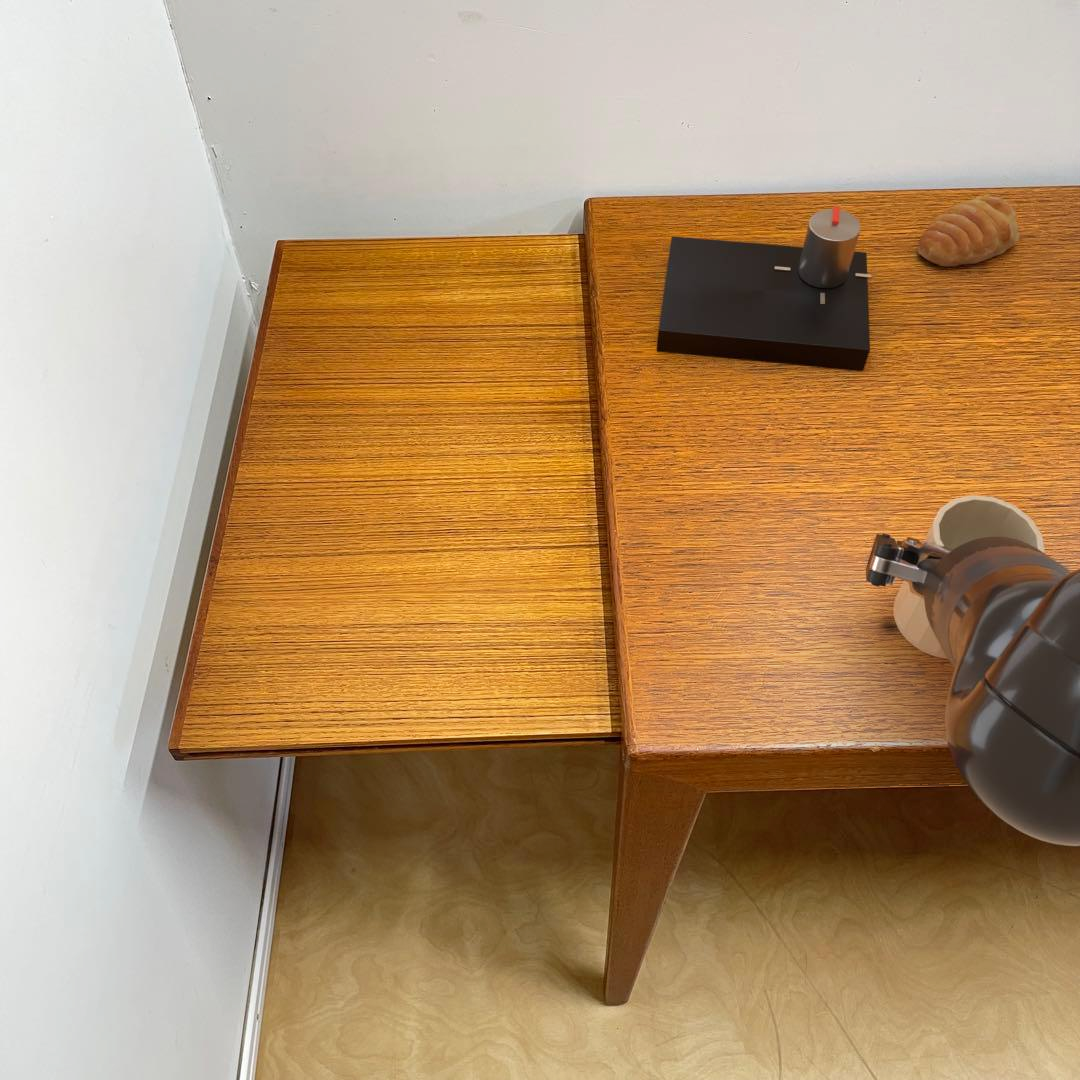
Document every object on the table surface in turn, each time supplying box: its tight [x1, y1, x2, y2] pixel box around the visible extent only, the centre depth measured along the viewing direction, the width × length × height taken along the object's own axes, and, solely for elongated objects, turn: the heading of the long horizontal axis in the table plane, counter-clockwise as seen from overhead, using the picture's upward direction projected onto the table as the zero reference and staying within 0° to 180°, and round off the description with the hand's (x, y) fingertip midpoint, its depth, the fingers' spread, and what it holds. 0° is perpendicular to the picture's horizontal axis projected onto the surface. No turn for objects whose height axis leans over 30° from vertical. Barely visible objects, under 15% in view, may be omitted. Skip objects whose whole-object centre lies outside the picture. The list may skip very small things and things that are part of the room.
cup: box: [892, 494, 1046, 660], centre depth 67 cm, size 7×7×10 cm
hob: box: [656, 235, 872, 372], centre depth 90 cm, size 18×14×3 cm
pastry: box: [917, 193, 1020, 268], centre depth 94 cm, size 9×7×4 cm
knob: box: [798, 205, 862, 288], centre depth 88 cm, size 4×4×6 cm
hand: (963, 567), depth 69 cm, fingers closed on cup, 7 cm apart
